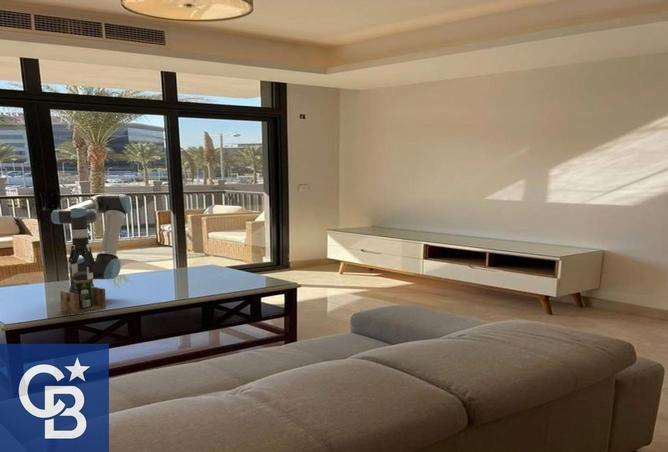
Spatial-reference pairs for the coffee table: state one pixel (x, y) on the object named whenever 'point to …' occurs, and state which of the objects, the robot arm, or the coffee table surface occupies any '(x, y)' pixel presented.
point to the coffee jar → (83, 289)
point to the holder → (72, 301)
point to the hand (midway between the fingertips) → (82, 277)
